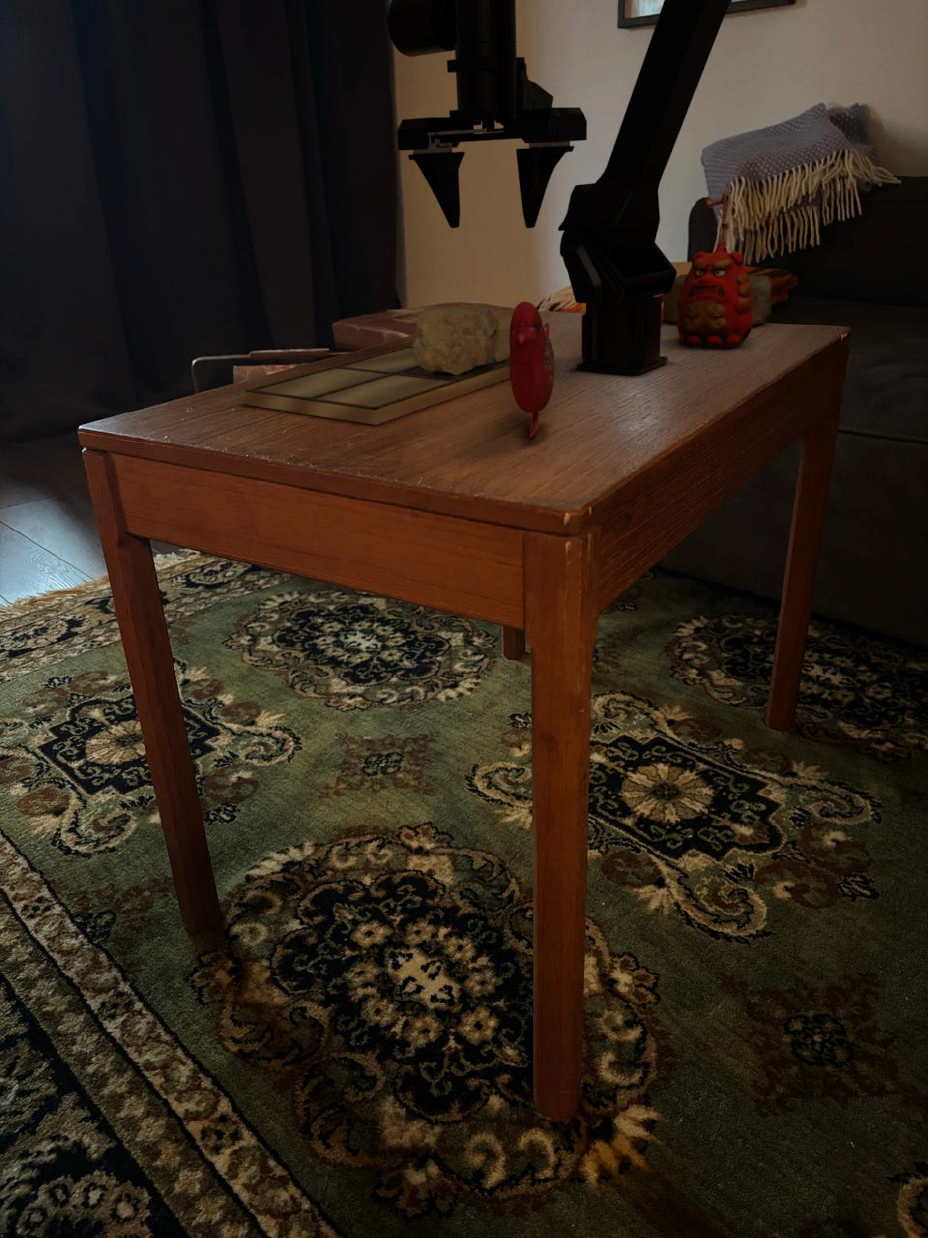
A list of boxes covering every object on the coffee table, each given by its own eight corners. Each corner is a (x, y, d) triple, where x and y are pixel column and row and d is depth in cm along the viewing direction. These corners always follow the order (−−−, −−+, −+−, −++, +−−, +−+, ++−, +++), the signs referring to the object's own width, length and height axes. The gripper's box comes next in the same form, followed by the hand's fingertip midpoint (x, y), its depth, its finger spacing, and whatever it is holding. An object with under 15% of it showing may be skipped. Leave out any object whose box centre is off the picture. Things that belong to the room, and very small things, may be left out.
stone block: (678, 315, 115) (680, 271, 113) (774, 320, 110) (778, 274, 107) (659, 323, 111) (661, 278, 109) (758, 329, 105) (762, 281, 103)
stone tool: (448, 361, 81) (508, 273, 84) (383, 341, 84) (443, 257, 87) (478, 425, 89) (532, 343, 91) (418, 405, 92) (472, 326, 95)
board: (530, 370, 91) (530, 356, 91) (376, 425, 76) (374, 408, 75) (408, 358, 100) (408, 345, 99) (247, 405, 84) (245, 390, 83)
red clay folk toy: (666, 347, 98) (673, 186, 92) (688, 335, 104) (696, 182, 97) (741, 351, 95) (754, 184, 88) (760, 338, 100) (773, 180, 93)
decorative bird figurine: (502, 461, 65) (497, 307, 61) (530, 399, 81) (528, 273, 77) (544, 461, 65) (543, 306, 61) (565, 399, 81) (565, 272, 76)
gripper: (617, 39, 90) (614, 220, 96) (458, 58, 100) (465, 221, 107) (553, 32, 82) (554, 230, 89) (387, 54, 92) (400, 230, 99)
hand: (491, 227), depth 96 cm, fingers open, 9 cm apart
